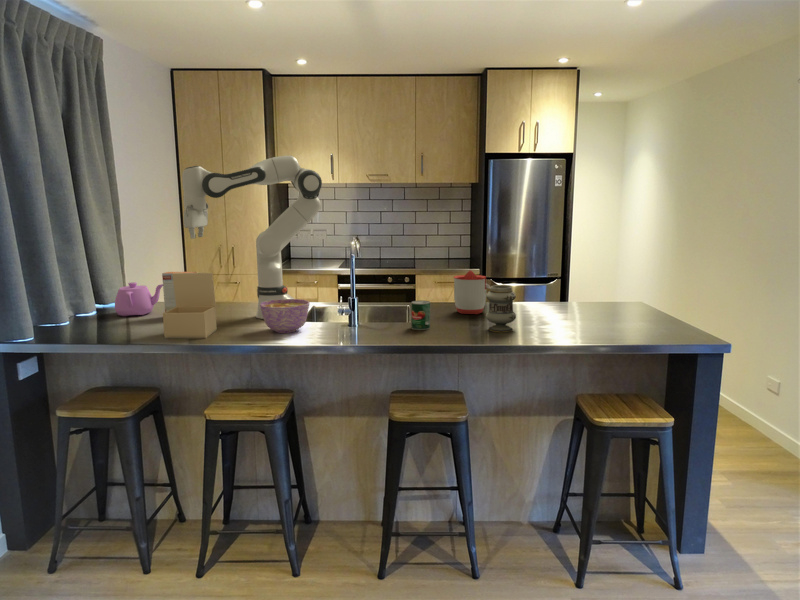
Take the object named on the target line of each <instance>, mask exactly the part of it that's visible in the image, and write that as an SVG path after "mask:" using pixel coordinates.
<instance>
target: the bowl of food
mask: <svg viewBox="0 0 800 600" xmlns="http://www.w3.org/2000/svg"><path fill="white" fill-rule="evenodd" d="M260 308H261V311H262V315H263V318H264V319H263V321H264V323H265V325H266V326H267V328H268V329H271V330H273V331H275V332H276V333H279V334H289V333H295V332H296V331H297V330H299V329H301V328H302V327H303V326H305V324H306V322H307V317H308V313H309V308H310V301H309V300H305V299H299V298H294V299H279V300H271V301H266V302H262V303H260Z"/></svg>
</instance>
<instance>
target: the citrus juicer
mask: <svg viewBox="0 0 800 600" xmlns="http://www.w3.org/2000/svg"><path fill="white" fill-rule="evenodd" d="M453 279H454V280H453V282H454V283H453V289H454V290H453V298H454V299H453V300H454V304H455V309H456V312H458V313H460V314H462V315H464V314H465V315H467V314H468V315H479V314H481V313H483V311H484V309H485V306H486V302H487V301H486V300H487V297H486V295H487V289H491V286H490V283H489V284H488V283H487V276H486V275H480V274H479V275H478V274H475V273H474V272H473V270H469V271H468V272H467V273H466V274H460V275H455V276H453Z"/></svg>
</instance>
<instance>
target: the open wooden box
mask: <svg viewBox="0 0 800 600" xmlns="http://www.w3.org/2000/svg"><path fill="white" fill-rule="evenodd" d="M216 314H217V313H216V306H205V307H175V308H173V309H171V310H169V311H167V312H165V311H164V312H162V321H163V333H164V335H163V336H164V339H165V338H178V339H207V338H209V337H210V336H211V335H213V334H214V333H215V332H216V331H217V330H218V329H217V315H216Z"/></svg>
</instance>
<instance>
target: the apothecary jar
mask: <svg viewBox="0 0 800 600" xmlns="http://www.w3.org/2000/svg"><path fill="white" fill-rule="evenodd" d="M490 287H491V289H490V290H489V291H488V292H486V300H488V303H489V304H488V305H489V307H488V312H486V314H485V318H486V319H487V321H488V322H490V323H492V324H495V325H492V326H489V327H488V331H491V332H494V333H510V332H513V330H514V328H512V327H511V326H509V325H507V324H510V323H512V322H514V321H515V320H516V318H517V314H516V313H515V311H514V301H515V300H516V298H517V294H516V293H515V292H514V291H513V288H512V286H511V285H506V284H505V285H504V284H503V285H501V284H498V285H491V286H490Z"/></svg>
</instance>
